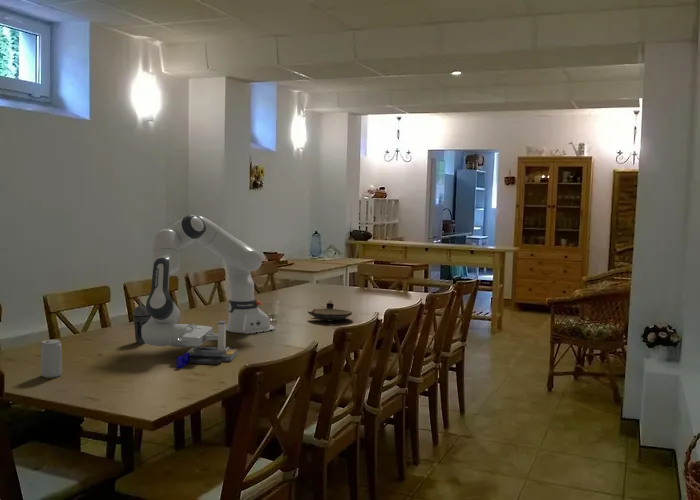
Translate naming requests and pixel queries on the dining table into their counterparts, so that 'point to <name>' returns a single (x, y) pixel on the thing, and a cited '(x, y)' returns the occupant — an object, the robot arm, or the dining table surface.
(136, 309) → the beverage cup
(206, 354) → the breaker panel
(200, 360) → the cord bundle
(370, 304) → the dining table surface
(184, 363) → the cable holder
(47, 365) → the beverage can
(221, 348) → the knob
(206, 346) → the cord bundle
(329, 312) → the oil lamp
